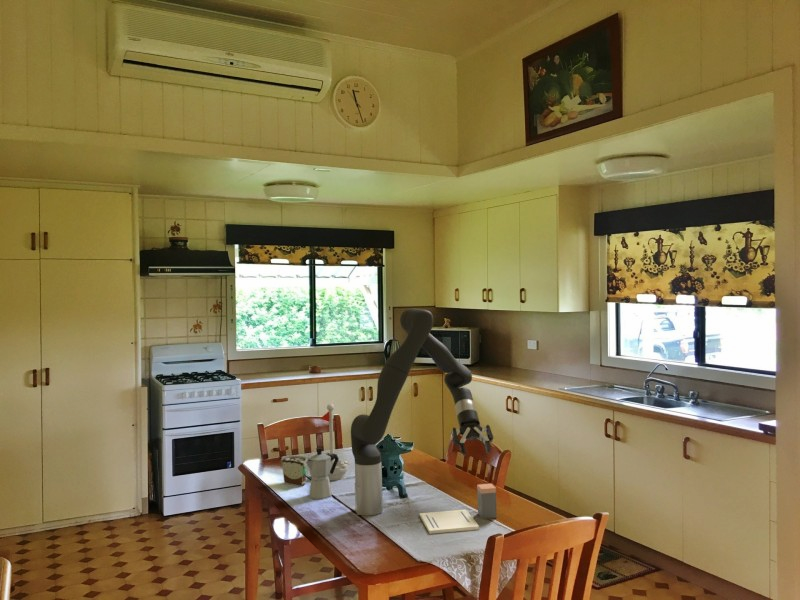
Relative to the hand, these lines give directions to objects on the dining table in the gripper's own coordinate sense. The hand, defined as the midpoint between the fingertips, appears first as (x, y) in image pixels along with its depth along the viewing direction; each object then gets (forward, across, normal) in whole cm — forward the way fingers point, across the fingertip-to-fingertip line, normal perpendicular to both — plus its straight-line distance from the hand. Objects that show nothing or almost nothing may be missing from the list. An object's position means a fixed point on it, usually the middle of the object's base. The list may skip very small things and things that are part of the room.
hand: (476, 453), depth 235 cm
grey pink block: (+21, 0, +4) cm, 22 cm away
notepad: (+23, -14, +2) cm, 27 cm away
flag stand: (-21, -49, +46) cm, 70 cm away
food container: (-17, -62, +42) cm, 77 cm away
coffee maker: (-4, -54, +30) cm, 61 cm away
